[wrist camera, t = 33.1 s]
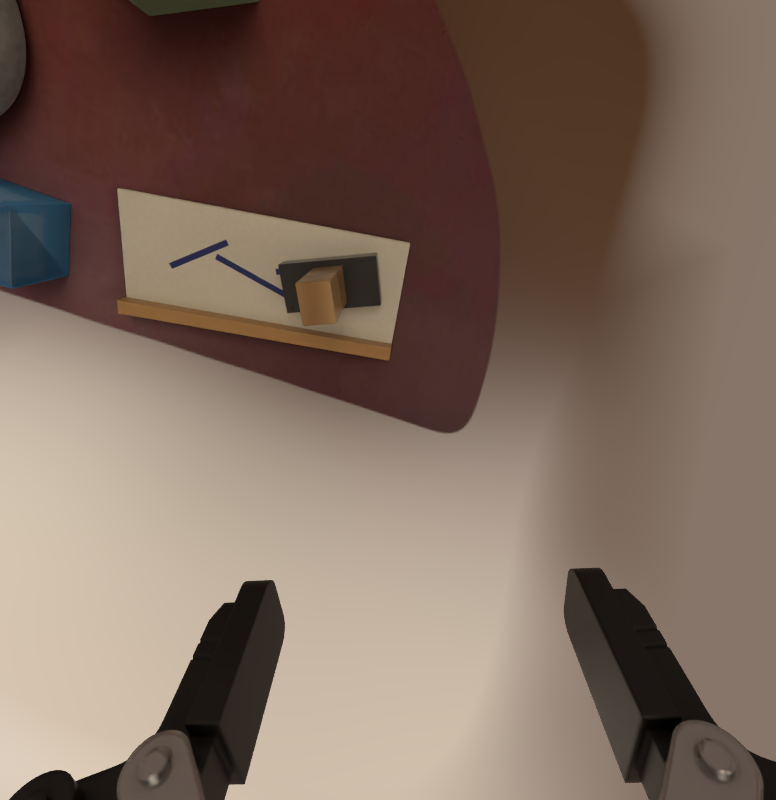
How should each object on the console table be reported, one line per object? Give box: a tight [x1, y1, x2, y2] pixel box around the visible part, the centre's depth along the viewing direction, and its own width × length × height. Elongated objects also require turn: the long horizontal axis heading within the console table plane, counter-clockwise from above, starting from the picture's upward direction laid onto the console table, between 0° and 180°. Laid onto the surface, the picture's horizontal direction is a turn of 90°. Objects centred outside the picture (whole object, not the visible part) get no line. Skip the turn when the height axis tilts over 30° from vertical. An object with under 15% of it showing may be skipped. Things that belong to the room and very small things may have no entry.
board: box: [117, 188, 410, 361], centre depth 37 cm, size 24×10×2 cm, turn 80°
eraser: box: [278, 253, 382, 326], centre depth 33 cm, size 8×4×8 cm, turn 95°
